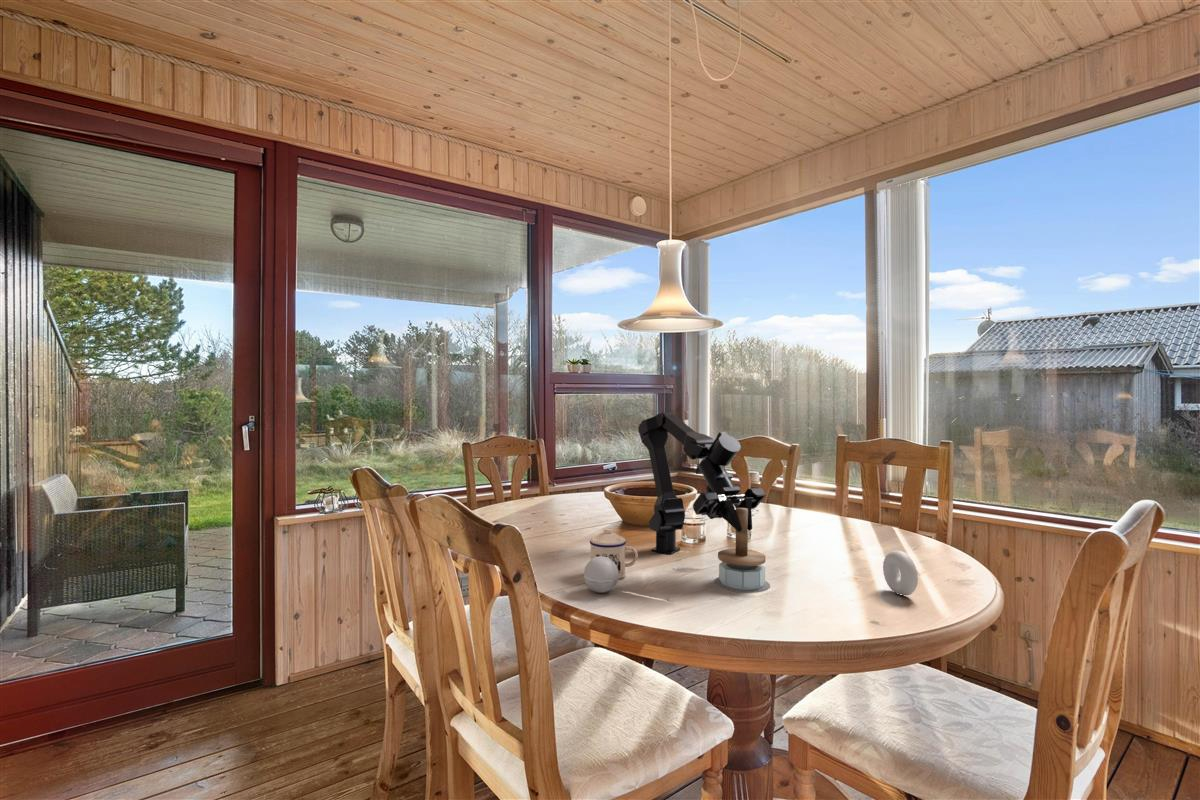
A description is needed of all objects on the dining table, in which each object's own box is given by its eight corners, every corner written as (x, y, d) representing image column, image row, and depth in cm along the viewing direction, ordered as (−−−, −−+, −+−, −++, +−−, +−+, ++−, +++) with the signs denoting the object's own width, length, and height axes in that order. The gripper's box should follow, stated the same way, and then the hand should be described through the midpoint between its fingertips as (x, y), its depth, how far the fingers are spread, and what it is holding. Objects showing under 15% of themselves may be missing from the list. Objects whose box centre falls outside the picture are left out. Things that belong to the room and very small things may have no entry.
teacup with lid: (588, 581, 137) (588, 533, 137) (590, 569, 146) (591, 524, 146) (637, 582, 137) (638, 533, 137) (637, 570, 146) (637, 525, 146)
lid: (717, 551, 141) (718, 503, 141) (763, 554, 139) (763, 505, 139) (718, 564, 130) (718, 512, 130) (767, 567, 128) (768, 514, 128)
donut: (879, 587, 133) (879, 545, 133) (893, 587, 134) (893, 545, 134) (906, 603, 123) (906, 557, 123) (921, 602, 124) (921, 556, 124)
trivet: (725, 573, 144) (725, 571, 144) (777, 582, 136) (777, 581, 136) (705, 587, 133) (705, 585, 133) (759, 598, 126) (759, 596, 126)
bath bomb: (620, 587, 133) (620, 553, 133) (615, 598, 125) (616, 562, 125) (587, 585, 134) (587, 551, 134) (580, 596, 126) (580, 560, 126)
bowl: (729, 574, 142) (729, 557, 142) (769, 581, 136) (769, 564, 136) (713, 585, 133) (713, 567, 133) (755, 593, 128) (755, 574, 128)
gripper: (731, 493, 153) (759, 544, 143) (673, 498, 144) (698, 552, 135) (751, 468, 145) (782, 519, 136) (691, 471, 137) (719, 526, 127)
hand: (745, 530), depth 133 cm, fingers closed on lid, 3 cm apart
